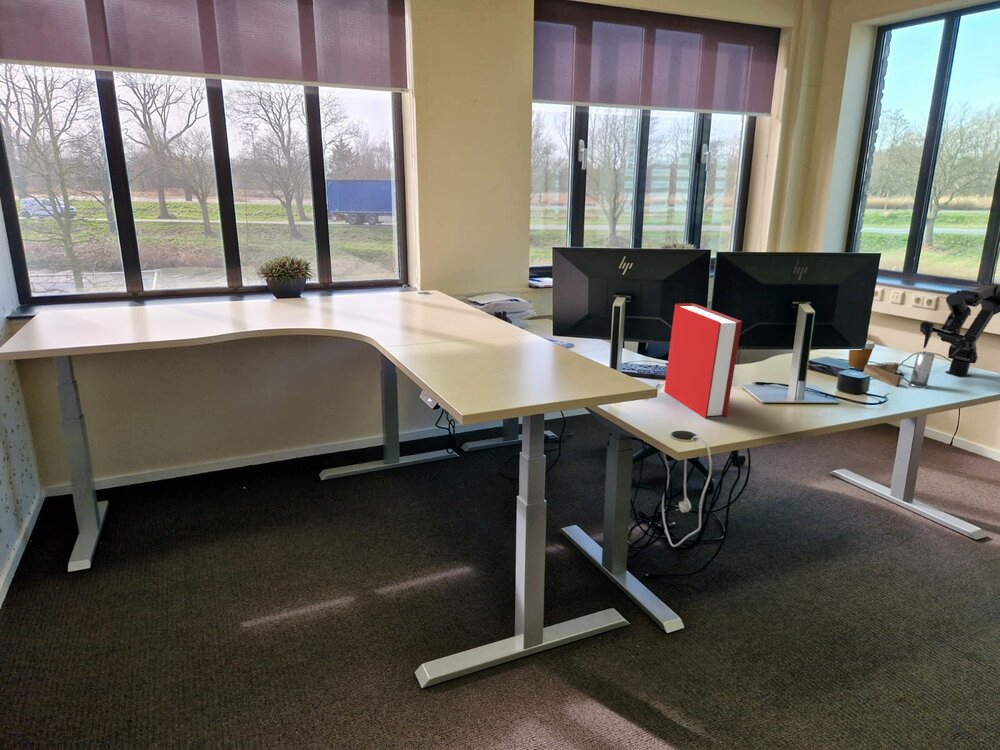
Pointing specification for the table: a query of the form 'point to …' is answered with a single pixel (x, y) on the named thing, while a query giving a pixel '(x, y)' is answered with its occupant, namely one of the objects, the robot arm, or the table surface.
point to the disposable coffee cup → (861, 356)
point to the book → (702, 359)
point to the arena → (884, 373)
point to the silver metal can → (921, 370)
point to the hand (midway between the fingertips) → (937, 352)
